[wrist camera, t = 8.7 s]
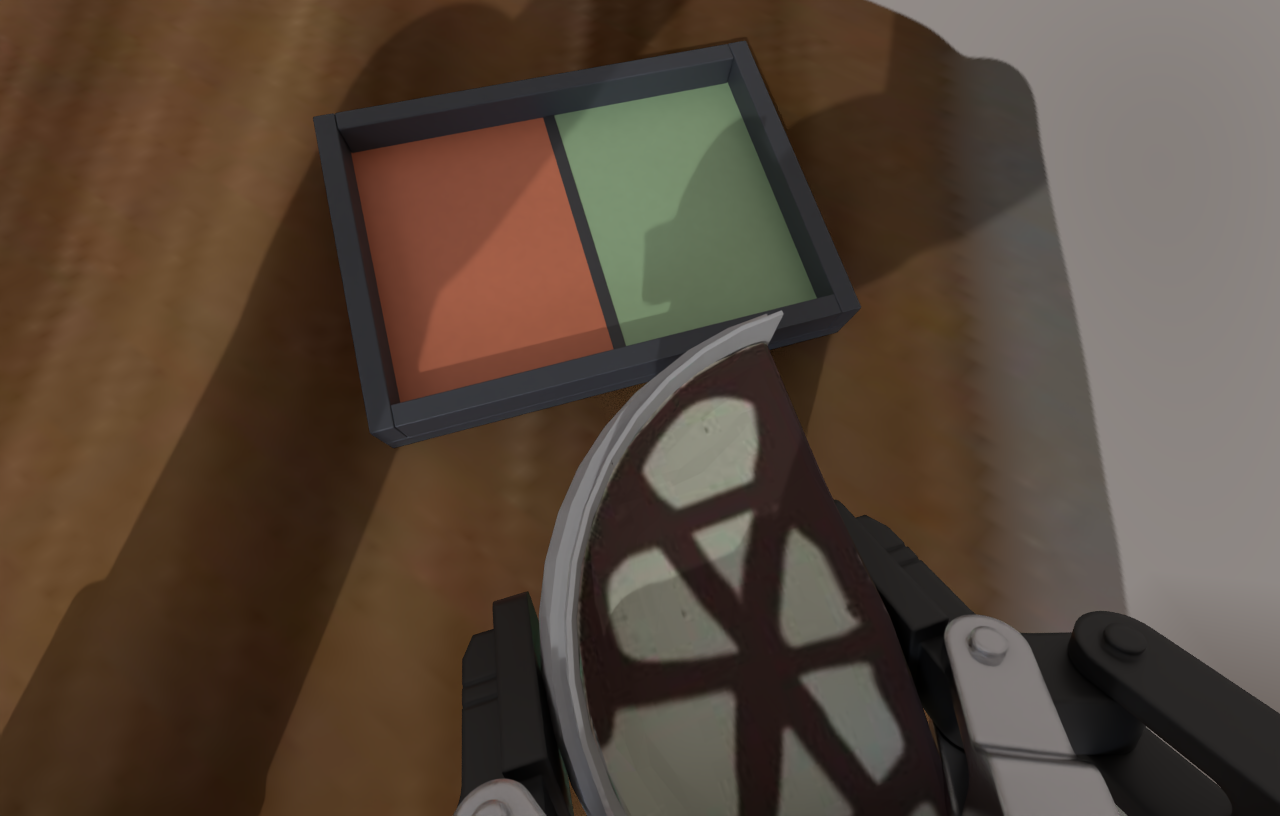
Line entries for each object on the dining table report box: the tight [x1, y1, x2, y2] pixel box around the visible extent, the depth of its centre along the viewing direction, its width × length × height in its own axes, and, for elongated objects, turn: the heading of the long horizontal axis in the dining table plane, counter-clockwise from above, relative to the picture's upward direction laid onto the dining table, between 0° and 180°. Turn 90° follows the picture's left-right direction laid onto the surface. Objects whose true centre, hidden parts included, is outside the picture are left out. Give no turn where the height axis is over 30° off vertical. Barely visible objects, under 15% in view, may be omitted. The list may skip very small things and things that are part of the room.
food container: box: [539, 310, 947, 816], centre depth 14 cm, size 12×6×10 cm, turn 19°
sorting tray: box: [313, 41, 861, 448], centre depth 28 cm, size 22×16×3 cm
